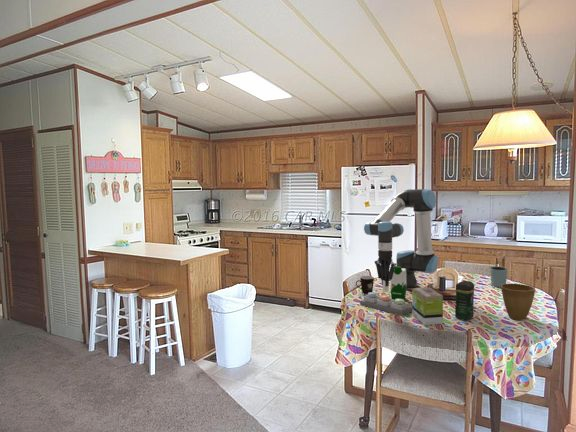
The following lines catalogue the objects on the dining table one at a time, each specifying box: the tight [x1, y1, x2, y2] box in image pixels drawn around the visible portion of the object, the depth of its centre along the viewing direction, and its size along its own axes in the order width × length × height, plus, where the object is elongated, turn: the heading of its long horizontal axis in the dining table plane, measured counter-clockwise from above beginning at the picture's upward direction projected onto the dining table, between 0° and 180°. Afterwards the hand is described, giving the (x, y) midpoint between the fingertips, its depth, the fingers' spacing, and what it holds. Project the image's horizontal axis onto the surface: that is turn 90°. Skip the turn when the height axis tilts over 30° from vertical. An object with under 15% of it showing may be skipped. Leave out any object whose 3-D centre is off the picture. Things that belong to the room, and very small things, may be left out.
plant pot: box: [500, 283, 536, 321], centre depth 199 cm, size 15×15×16 cm
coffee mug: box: [355, 275, 375, 295], centre depth 250 cm, size 12×9×10 cm
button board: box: [359, 294, 412, 317], centre depth 220 cm, size 28×10×4 cm, turn 41°
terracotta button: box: [380, 294, 391, 302], centre depth 220 cm, size 5×5×2 cm
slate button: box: [367, 291, 377, 298], centre depth 227 cm, size 5×5×2 cm
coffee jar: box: [454, 280, 475, 321], centre depth 201 cm, size 10×8×19 cm
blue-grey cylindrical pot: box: [489, 266, 508, 288], centre depth 257 cm, size 10×10×12 cm
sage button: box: [394, 299, 405, 305], centre depth 213 cm, size 5×5×2 cm
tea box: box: [411, 287, 444, 326], centre depth 199 cm, size 15×10×15 cm
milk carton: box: [390, 265, 407, 301], centre depth 235 cm, size 9×9×20 cm
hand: (385, 291), depth 220 cm, fingers closed
